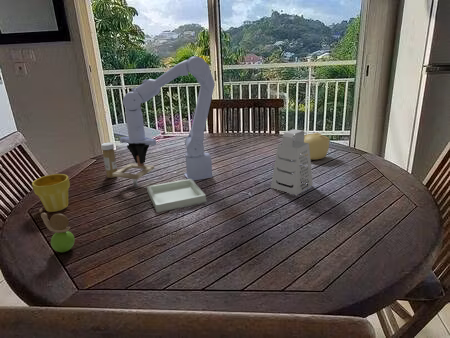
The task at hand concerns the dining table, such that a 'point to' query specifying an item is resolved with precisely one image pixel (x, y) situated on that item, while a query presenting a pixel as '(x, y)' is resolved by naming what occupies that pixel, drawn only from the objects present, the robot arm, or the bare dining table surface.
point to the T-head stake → (135, 182)
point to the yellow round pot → (317, 145)
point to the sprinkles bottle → (109, 158)
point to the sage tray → (175, 195)
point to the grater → (292, 163)
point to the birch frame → (141, 166)
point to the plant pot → (52, 191)
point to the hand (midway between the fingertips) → (140, 162)
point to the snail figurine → (59, 232)
